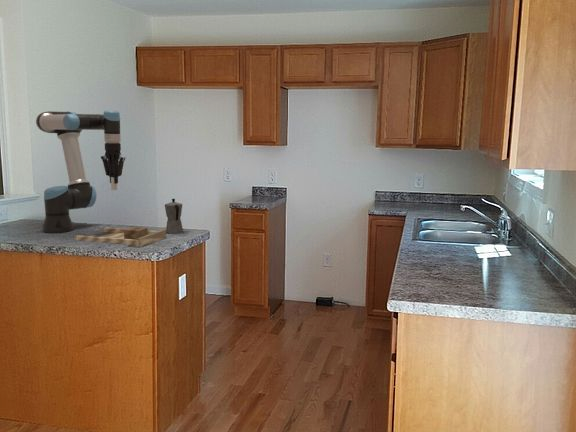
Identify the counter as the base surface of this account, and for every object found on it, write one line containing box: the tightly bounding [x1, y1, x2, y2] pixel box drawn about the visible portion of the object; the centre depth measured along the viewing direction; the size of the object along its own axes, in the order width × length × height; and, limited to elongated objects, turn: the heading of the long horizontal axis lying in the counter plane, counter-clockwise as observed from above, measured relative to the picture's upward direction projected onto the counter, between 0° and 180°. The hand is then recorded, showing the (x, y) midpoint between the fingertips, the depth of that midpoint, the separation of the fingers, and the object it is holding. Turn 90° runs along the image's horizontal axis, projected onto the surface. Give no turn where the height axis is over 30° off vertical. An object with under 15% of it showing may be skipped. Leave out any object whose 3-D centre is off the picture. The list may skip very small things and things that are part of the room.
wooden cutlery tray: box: [74, 227, 167, 248], centre depth 262 cm, size 36×23×4 cm, turn 73°
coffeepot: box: [164, 198, 184, 235], centre depth 279 cm, size 15×9×18 cm, turn 25°
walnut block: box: [124, 226, 148, 240], centre depth 259 cm, size 8×8×5 cm
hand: (114, 189), depth 267 cm, fingers closed
